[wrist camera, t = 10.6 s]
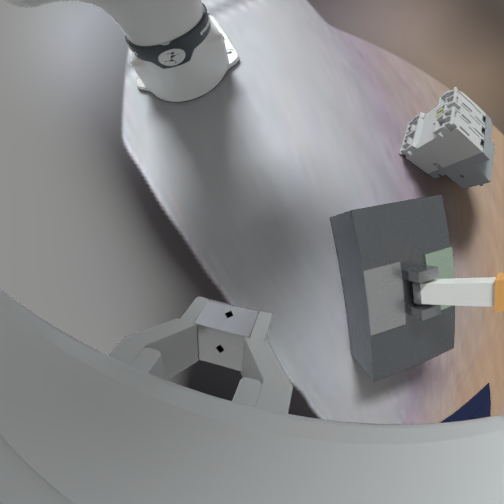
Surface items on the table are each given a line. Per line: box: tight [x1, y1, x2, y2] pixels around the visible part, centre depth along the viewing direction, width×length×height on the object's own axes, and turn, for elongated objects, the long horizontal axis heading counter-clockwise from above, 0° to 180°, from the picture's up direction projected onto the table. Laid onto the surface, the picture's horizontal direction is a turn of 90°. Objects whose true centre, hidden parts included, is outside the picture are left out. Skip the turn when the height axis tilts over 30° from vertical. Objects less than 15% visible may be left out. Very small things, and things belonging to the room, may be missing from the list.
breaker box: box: [330, 195, 455, 381], centre depth 32 cm, size 22×14×14 cm, turn 12°
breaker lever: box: [412, 273, 504, 311], centre depth 22 cm, size 3×3×14 cm
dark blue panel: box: [441, 383, 491, 423], centre depth 39 cm, size 24×30×4 cm
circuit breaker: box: [399, 87, 494, 189], centre depth 30 cm, size 8×14×15 cm, turn 64°
